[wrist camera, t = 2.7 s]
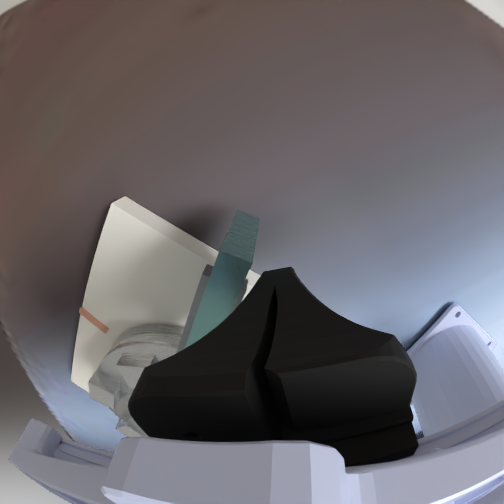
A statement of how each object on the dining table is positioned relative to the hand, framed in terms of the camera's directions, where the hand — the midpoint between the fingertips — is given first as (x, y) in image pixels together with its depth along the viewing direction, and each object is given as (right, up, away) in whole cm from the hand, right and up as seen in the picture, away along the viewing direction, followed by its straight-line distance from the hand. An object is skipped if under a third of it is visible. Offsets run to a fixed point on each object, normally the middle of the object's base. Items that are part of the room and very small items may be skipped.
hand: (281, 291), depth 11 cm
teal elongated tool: (-5, -5, +5) cm, 8 cm away
